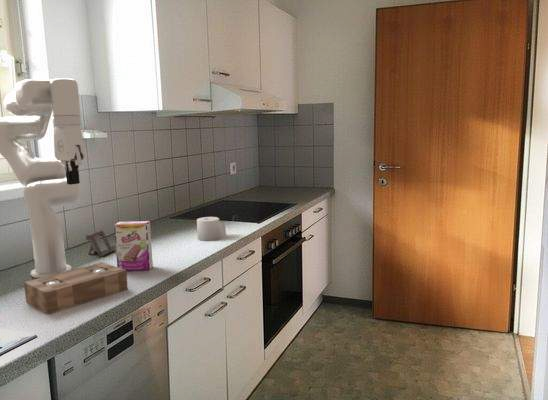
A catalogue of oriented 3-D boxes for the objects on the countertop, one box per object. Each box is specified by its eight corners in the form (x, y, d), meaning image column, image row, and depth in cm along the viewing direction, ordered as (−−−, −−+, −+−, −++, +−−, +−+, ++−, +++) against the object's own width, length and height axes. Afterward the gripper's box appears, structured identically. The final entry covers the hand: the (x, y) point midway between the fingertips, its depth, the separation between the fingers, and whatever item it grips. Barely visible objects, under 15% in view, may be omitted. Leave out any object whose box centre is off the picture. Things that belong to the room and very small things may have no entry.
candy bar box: (117, 271, 164) (113, 224, 161) (121, 267, 168) (117, 221, 166) (150, 270, 164) (146, 223, 161) (153, 266, 169) (150, 220, 166)
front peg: (45, 301, 136) (43, 282, 136) (58, 297, 139) (56, 279, 138) (51, 304, 134) (49, 285, 133) (63, 300, 137) (61, 282, 136)
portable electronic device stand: (103, 257, 182) (101, 235, 181) (84, 256, 184) (82, 235, 183) (115, 251, 191) (114, 230, 189) (98, 250, 193) (96, 229, 191)
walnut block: (26, 302, 138) (23, 282, 137) (103, 280, 155) (102, 262, 154) (48, 314, 128) (45, 292, 127) (127, 289, 146) (126, 270, 145)
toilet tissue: (231, 236, 210) (230, 217, 208) (206, 242, 200) (205, 222, 199) (217, 233, 216) (217, 214, 214) (193, 239, 207) (192, 219, 205)
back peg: (91, 287, 147) (90, 270, 146) (102, 284, 149) (101, 267, 149) (98, 290, 144) (96, 272, 144) (108, 287, 147) (107, 269, 146)
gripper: (43, 122, 144) (49, 183, 147) (66, 121, 134) (73, 187, 137) (68, 122, 150) (73, 180, 153) (92, 121, 140) (97, 184, 143)
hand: (73, 183), depth 145 cm, fingers closed
